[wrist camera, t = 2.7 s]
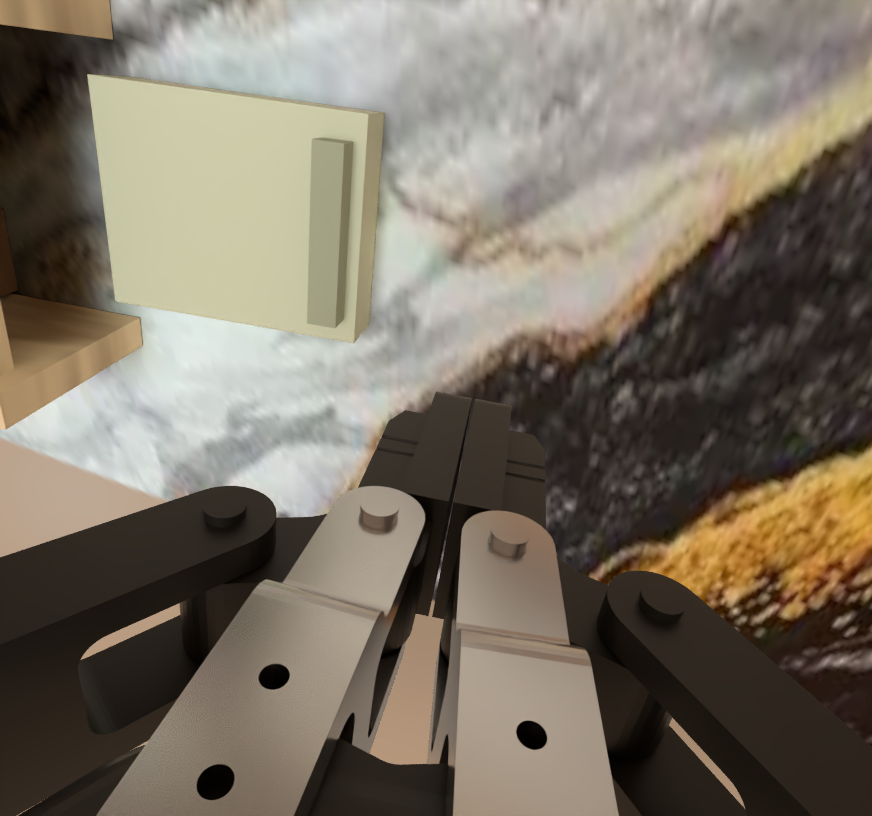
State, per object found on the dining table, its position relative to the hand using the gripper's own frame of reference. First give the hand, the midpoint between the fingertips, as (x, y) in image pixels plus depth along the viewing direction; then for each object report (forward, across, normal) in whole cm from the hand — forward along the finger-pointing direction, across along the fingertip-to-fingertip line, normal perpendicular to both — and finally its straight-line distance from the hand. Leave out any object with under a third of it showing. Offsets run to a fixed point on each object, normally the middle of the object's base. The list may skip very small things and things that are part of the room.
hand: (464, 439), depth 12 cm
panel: (+17, +11, 0) cm, 20 cm away
